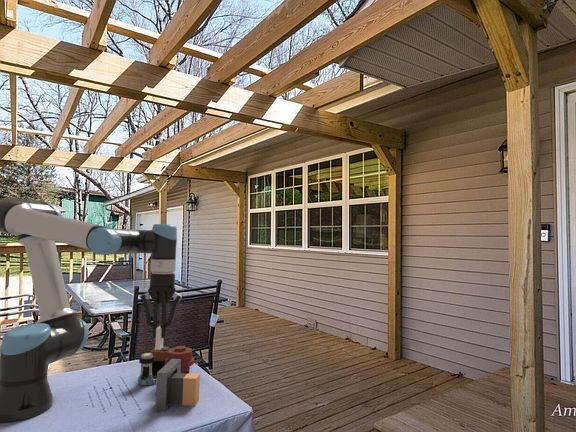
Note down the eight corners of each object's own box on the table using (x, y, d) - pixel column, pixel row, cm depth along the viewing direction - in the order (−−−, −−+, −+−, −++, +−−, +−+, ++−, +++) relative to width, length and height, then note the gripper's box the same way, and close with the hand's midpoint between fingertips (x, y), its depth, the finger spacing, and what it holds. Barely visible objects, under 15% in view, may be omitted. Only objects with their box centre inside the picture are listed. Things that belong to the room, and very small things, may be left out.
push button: (159, 381, 131) (160, 352, 132) (154, 386, 126) (156, 356, 126) (140, 380, 131) (141, 352, 131) (135, 386, 125) (136, 356, 126)
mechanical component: (198, 379, 133) (185, 390, 123) (173, 376, 135) (158, 387, 125) (199, 344, 134) (186, 352, 124) (174, 342, 136) (159, 350, 126)
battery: (166, 377, 135) (168, 349, 135) (148, 376, 135) (149, 348, 136) (171, 372, 139) (172, 345, 140) (153, 372, 139) (154, 345, 140)
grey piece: (155, 411, 108) (157, 372, 109) (170, 393, 121) (172, 358, 122) (165, 411, 108) (167, 373, 109) (179, 393, 121) (181, 359, 122)
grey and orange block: (156, 404, 112) (157, 377, 113) (161, 398, 116) (162, 372, 117) (195, 405, 112) (196, 378, 113) (198, 400, 116) (199, 373, 117)
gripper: (137, 273, 114) (133, 351, 112) (179, 274, 113) (175, 352, 112) (147, 271, 121) (143, 344, 119) (186, 272, 121) (183, 345, 119)
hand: (159, 348), depth 116 cm, fingers closed
